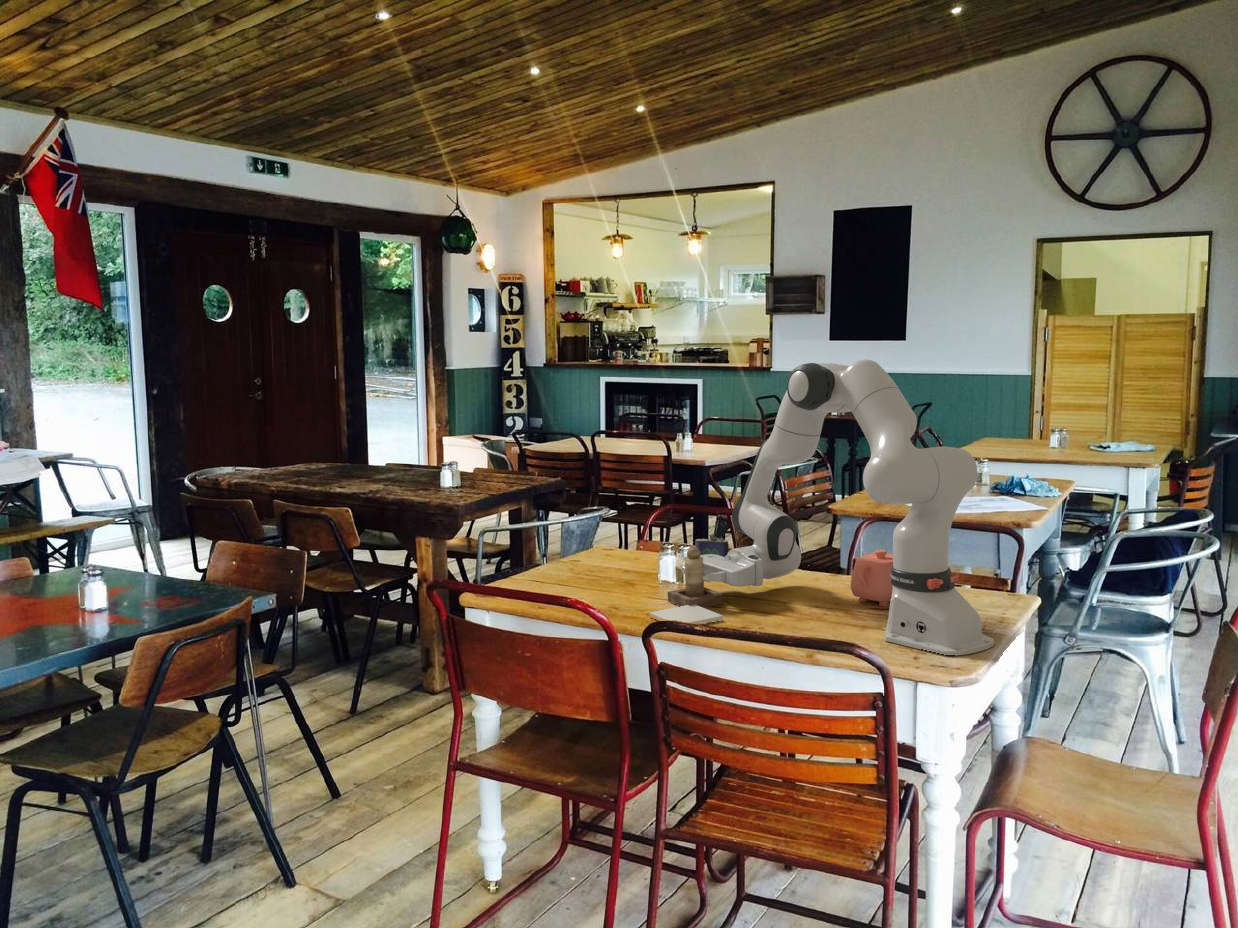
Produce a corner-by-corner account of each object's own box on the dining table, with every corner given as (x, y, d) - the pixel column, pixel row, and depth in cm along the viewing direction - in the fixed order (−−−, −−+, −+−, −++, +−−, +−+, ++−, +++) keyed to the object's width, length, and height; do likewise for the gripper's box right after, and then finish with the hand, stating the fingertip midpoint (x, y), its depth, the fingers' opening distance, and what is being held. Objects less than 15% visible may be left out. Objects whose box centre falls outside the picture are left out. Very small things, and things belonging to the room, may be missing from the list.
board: (722, 620, 231) (722, 615, 230) (677, 630, 225) (677, 624, 225) (693, 608, 241) (693, 603, 241) (649, 617, 235) (649, 612, 235)
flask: (694, 573, 275) (693, 533, 274) (698, 570, 278) (697, 531, 276) (727, 575, 271) (727, 535, 270) (731, 572, 274) (730, 533, 272)
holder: (722, 604, 244) (722, 593, 244) (689, 610, 240) (688, 600, 239) (700, 595, 252) (700, 585, 252) (668, 601, 248) (667, 591, 247)
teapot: (879, 613, 232) (878, 561, 230) (836, 604, 240) (835, 553, 239) (928, 595, 244) (928, 546, 243) (886, 587, 253) (886, 539, 252)
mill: (707, 603, 245) (706, 547, 243) (692, 606, 243) (690, 550, 241) (697, 599, 249) (696, 544, 247) (682, 602, 247) (680, 546, 245)
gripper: (716, 545, 260) (670, 553, 253) (765, 560, 242) (717, 569, 236) (717, 570, 261) (671, 578, 254) (766, 586, 243) (717, 596, 237)
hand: (693, 574), depth 245 cm, fingers open, 8 cm apart
